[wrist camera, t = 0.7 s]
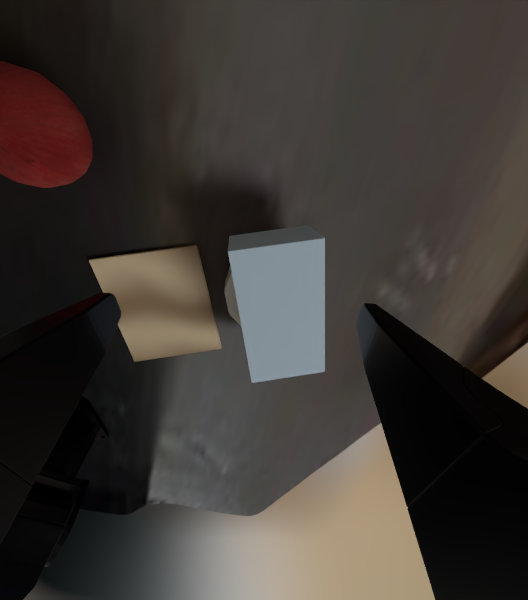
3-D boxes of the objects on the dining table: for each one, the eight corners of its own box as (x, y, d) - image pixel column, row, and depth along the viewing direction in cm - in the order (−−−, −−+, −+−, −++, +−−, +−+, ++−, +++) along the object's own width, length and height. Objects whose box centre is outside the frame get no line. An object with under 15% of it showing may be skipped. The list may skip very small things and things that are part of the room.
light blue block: (311, 341, 24) (324, 371, 21) (249, 351, 24) (252, 382, 21) (308, 225, 19) (324, 238, 16) (229, 235, 19) (227, 251, 16)
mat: (221, 346, 27) (221, 348, 27) (136, 359, 27) (134, 361, 26) (197, 244, 22) (196, 245, 22) (91, 258, 22) (88, 260, 21)
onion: (47, 189, 19) (-65, 202, 12) (-1, 91, 16) (-181, 34, 9) (125, 177, 19) (61, 184, 12) (91, 79, 16) (-17, 13, 9)
